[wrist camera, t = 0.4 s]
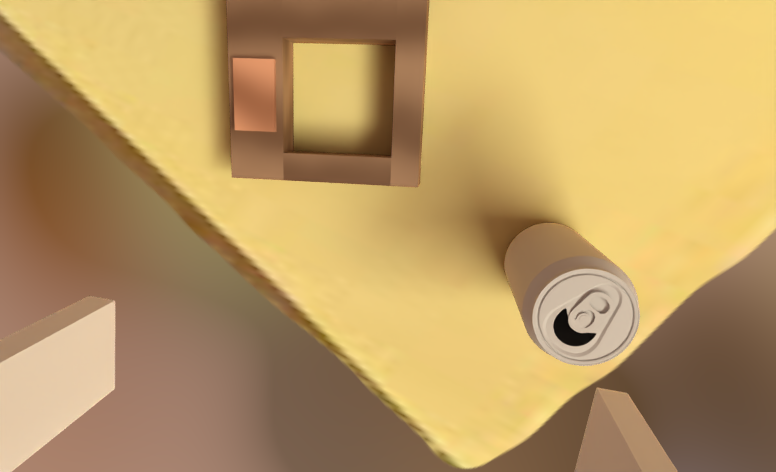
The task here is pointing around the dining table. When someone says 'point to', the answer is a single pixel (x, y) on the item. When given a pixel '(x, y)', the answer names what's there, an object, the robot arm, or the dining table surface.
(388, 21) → the caddy
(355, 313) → the dining table surface
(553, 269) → the beverage can
